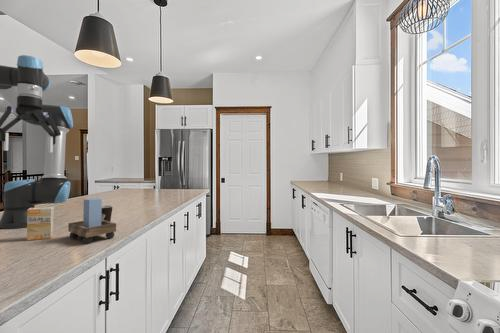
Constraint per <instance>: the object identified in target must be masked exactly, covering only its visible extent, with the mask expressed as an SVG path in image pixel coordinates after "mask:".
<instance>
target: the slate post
mask: <svg viewBox="0 0 500 333" xmlns="http://www.w3.org/2000/svg"><path fill="white" fill-rule="evenodd" d="M102 200H103V198H98V197H93V198H91V197H90V198H83V218H82V221H83V226H84V227H87V228H90V227H96V226H101V213H102V206H103V204H102Z"/></svg>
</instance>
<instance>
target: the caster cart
mask: <svg viewBox="0 0 500 333" xmlns="http://www.w3.org/2000/svg"><path fill="white" fill-rule="evenodd" d="M67 227H68V232H69V237H70V238H71V239H73V240H74V239H77V238H78V237H83V238H82V242H83V243H84V244H86V245H88V244H89V245H90V244H91V243H92V242H93V237H96V236H100V235H105V238H106V239H109V240H111V239H113V238H115V233H116V232H117V223H115V222H112V221H110V222H109V221H105V220H101V226H96V227H90V228H87V227H84V226H83V220H81V221H75V222H73V221H72V222H68V226H67Z"/></svg>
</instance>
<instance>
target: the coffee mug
mask: <svg viewBox="0 0 500 333" xmlns="http://www.w3.org/2000/svg"><path fill="white" fill-rule="evenodd" d="M112 213H113V205H106V204H105V205H104V204H102V213H101V220H105V221H109V222H112V220H111V219H112Z"/></svg>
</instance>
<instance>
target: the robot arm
mask: <svg viewBox="0 0 500 333" xmlns="http://www.w3.org/2000/svg"><path fill="white" fill-rule="evenodd" d="M43 64H44V63H43V61H42V60H41V59H39V58H38V57H35V56H32V55H24V54H23V55H22V54H21V55H19V56H18V57H17V62H16V66H17V67H15V66H14V67H13V66H7V65H0V96H1V97H2V98H3V99H4V101H5V102H6V103H7V104H8V106H5V108H4V113H2V115H1V116H0V142H3V150H2V151H9V141H10V140H9V138H10V137H9V135H10V134H9V132H7V131H8V130H10V129H11V128H12V127H14V126H15V125H16V124H17V123H19V122H20V121H23V122H25V123H27V124H31V125H33V126H34V125H35V126H40V127H41V128H42V129H43V130H44V131H45V133H46V137H45V138H46V139H45V156H44V170H43V171H44V172H43V175H42V176H41V177H39V178H40V180H39V181H36V179H34V178H29V179H20V180H12V181H7V182H6V183H5V184H4V187H3V188H4V189H3V213H2V215H1V217H0V229H5V230H7V229H9V230H10V229H12V230H13V229H21V228H27V212H28V209H29V208H36V207H35V206H36V205H46V204H55V205H56V204H61V203H62V204H63V203H66V202H67V201H68V199H69V196H70V193H71V181H68V177H66V176H65V167H66V166H65V163H66V143H67V142H66V140H67V134H68V133H69V132H70V129H72V128H73V127H74V121H73V120H74V119H73V115H72V110H71V109H70V108H69V107H67V106H62V105H52V104H44V103H43V99H42V98H43V92H45V91H47V90H49V89H50V87H51V81H50V79H49V77H48V76H47V75H46V74H45V72H44V71H43V70H44V66H43ZM11 114H13V115H14V116H15V118H13V119H12V120H11V121H10V122H8V123H7V124H5V125H4V126H3V124H4V123H5V122H6V120H7V119H8V118H9V116H10V115H11ZM2 126H3V127H2ZM1 127H2V128H1Z"/></svg>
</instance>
